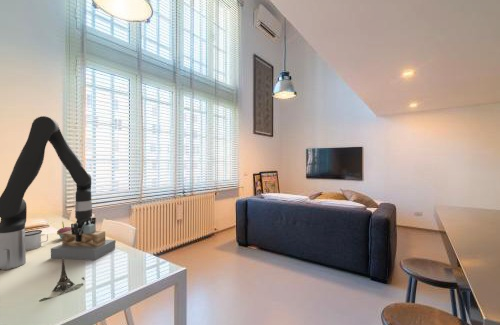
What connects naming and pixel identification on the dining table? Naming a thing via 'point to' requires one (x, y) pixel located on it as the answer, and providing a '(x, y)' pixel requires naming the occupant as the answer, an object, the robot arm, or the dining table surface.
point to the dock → (82, 251)
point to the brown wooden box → (84, 239)
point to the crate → (89, 229)
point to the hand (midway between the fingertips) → (84, 239)
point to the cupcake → (63, 230)
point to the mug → (33, 239)
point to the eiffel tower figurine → (64, 284)
